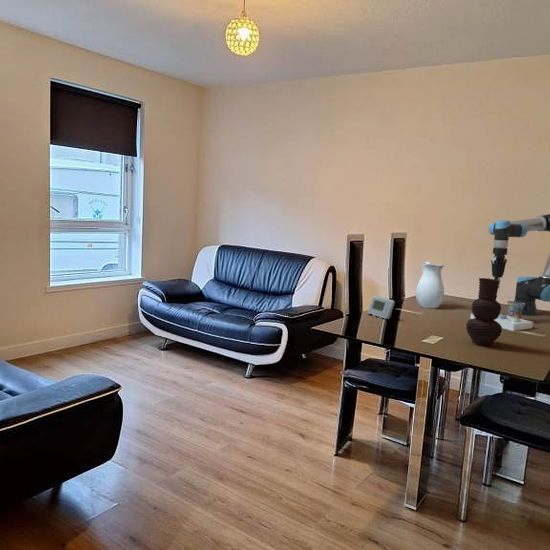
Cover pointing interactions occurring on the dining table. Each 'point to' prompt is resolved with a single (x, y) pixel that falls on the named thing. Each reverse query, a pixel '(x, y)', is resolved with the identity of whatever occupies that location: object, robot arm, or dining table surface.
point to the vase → (485, 314)
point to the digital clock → (381, 307)
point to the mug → (515, 309)
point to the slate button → (502, 317)
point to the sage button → (515, 320)
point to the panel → (512, 323)
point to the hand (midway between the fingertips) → (496, 288)
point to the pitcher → (430, 286)
